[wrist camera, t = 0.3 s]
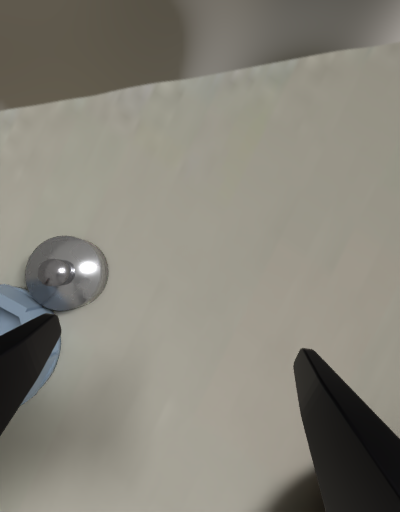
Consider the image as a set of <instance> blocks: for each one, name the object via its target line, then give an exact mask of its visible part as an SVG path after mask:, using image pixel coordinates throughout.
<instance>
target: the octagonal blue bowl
mask: <svg viewBox="0 0 400 512" xmlns="http://www.w3.org/2000/svg"><path fill="white" fill-rule="evenodd" d="M44 313H50V314H54V313H53V311H52V310H51V309H49V308H46V307H44V306H43V305H41V304H40V303H38V302H37V301H36V300H35V299H34V298H33V296H32V295H31V293H30V292H29V290H26V289H23V288H20V287H14V286H10V285H5V284H2V285H0V335H2V334H4V333H6V332H8V331H10V330H12V329H14V328H16V327H18V326H20V325H22V324H24V323H26V322H28V321H30V320H32V319H34V318H36V317H38V316H40V315H42V314H44ZM60 348H61V335H60V338H59V340H58V342H57V343H56V345H55V347H54V349H53V351H52V353H51V355H50V357H49V359H48V361H47V362H46V364H45V366H44V368H43V370H42V372H41V374H40V375H39V377H38V379H37V380H36V382H35V384H34V385H33V387H32V388H31V390H30V391H29V393H28V394H27V396H26V397H25V399H24V400H23V402H22V403H21V405H22V404H24V403H25V402H26V401H28V400H29V399H30V398H32V397H33V396H34V395H36V393H37V392H38V390H39V389H40V388H41V387H42V386H43V385H44V384H45V383H46V381H47V380H48V379H49V378H50V376H51V374H52V373H53V371H54V369H55V367H56V365H57V361H58V358H59V354H60ZM21 405H20V406H21Z"/></svg>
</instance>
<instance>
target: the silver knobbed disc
mask: <svg viewBox="0 0 400 512" xmlns="http://www.w3.org/2000/svg"><path fill="white" fill-rule="evenodd" d="M108 272H109V271H108V264H107V260H106V258H105V256H104V254H103V253H102V251H101V250H100V249H99V248H98V247H97V246H96V245H94V244H92V243H91V242H88V241H86V240H82V239H79V238H75V237H72V236H57V237H53V238H51V239H48V240H46V241H44V242H43V243H42V244H40V245H39V246H38V247H37V248H36V249H35V250H34V251H33V253H32V254H31V256H30V258H29V260H28V263H27V266H26V274H25V276H26V284H27V287H28V290H29V292H30V293H31V295H32V296H33V298H34V299H35V300H36V301H37V302H38V303H40V304H41V305H43V306H44V307H46V308H49V309H52V310H62V311H63V310H69V309H73V308H77V307H81V306H84V305H87V304H89V303H91V302H92V301H94V300H95V299H96V298H97V297H98V296H99V295H100V294H101V293H102V291H103V290H104V288H105V286H106V283H107V280H108Z"/></svg>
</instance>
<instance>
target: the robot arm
mask: <svg viewBox="0 0 400 512" xmlns="http://www.w3.org/2000/svg"><path fill="white" fill-rule="evenodd" d="M60 335H61V326H60V323H59V319H58V316H57V315H56V314H50V313H44V314H42V315H40V316H38V317H36V318H34V319H32V320H30V321H28V322H26V323H24V324H22V325H20V326H18V327H16V328H14V329H12V330H10V331H8V332H6V333H4V334H2V335H0V436H1V434H2V433H3V431H4V429H5V428H6V426H7V425H8V423H9V422H10V420H11V419H12V417H13V416H14V414H15V413H16V411H17V410H18V408H19V407H20V405H21V403H22V402H23V400H24V399H25V397H26V396H27V394H28V393H29V391H30V390H31V388H32V387H33V385H34V384H35V382H36V380H37V379H38V377H39V375H40V374H41V372H42V370H43V368H44V366H45V364H46V362H47V361H48V359H49V357H50V355H51V353H52V351H53V349H54V347H55V345H56V343H57V342H58V340H59V338H60ZM293 367H294V375H295V381H296V388H297V394H298V401H299V407H300V413H301V417H302V421H303V425H304V429H305V433H306V437H307V441H308V445H309V449H310V453H311V456H312V460H313V464H314V468H315V472H316V476H317V480H318V484H319V487H320V491H321V495H322V499H323V503H324V507H325V511H326V512H400V439H399V438H398V437H397V436H396V435H395V434H394V432H393V431H392V430H391V429H390V428H389V427H388V426H387V425H386V424H385V423H384V422H383V421H382V420H381V419H380V418H379V417H378V416H377V415H376V414H375V413H374V412H373V411H372V410H371V409H370V408H369V407H368V406H367V405H366V404H365V402H364V401H363V400H362V399H361V398H360V397H359V396H358V395H357V394H356V393H355V392H354V391H353V390H352V389H351V388H350V387H349V386H348V385H347V384H346V383H345V382H344V381H343V380H342V379H341V378H340V377H339V376H338V375H337V374H336V372H335V371H334V370H333V369H332V368H331V367H330V366H329V365H328V364H327V363H326V362H325V361H324V360H323V359H322V358H321V357H320V356H319V355H318V354H317V353H316V352H315V351H314V350H312V349H306V348H302V349H300V351H299V353H298V355H297V357H296V359H295V361H294V366H293Z"/></svg>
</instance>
